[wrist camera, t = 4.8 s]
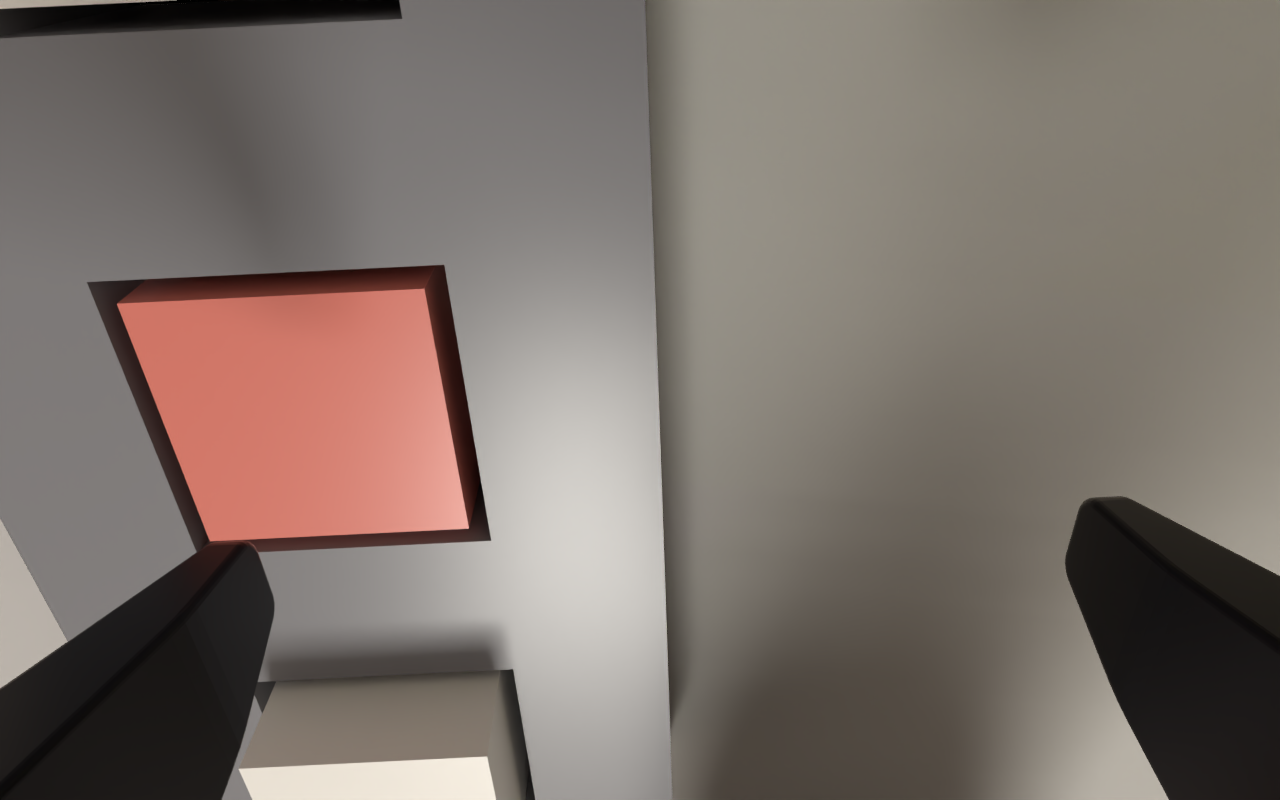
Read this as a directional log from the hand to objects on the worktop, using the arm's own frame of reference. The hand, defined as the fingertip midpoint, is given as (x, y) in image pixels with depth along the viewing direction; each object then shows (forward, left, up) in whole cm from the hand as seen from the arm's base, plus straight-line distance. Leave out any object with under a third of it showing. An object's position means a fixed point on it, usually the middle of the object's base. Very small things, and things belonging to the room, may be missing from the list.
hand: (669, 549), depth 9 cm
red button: (0, +5, -6) cm, 8 cm away
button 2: (-8, +5, -5) cm, 10 cm away
